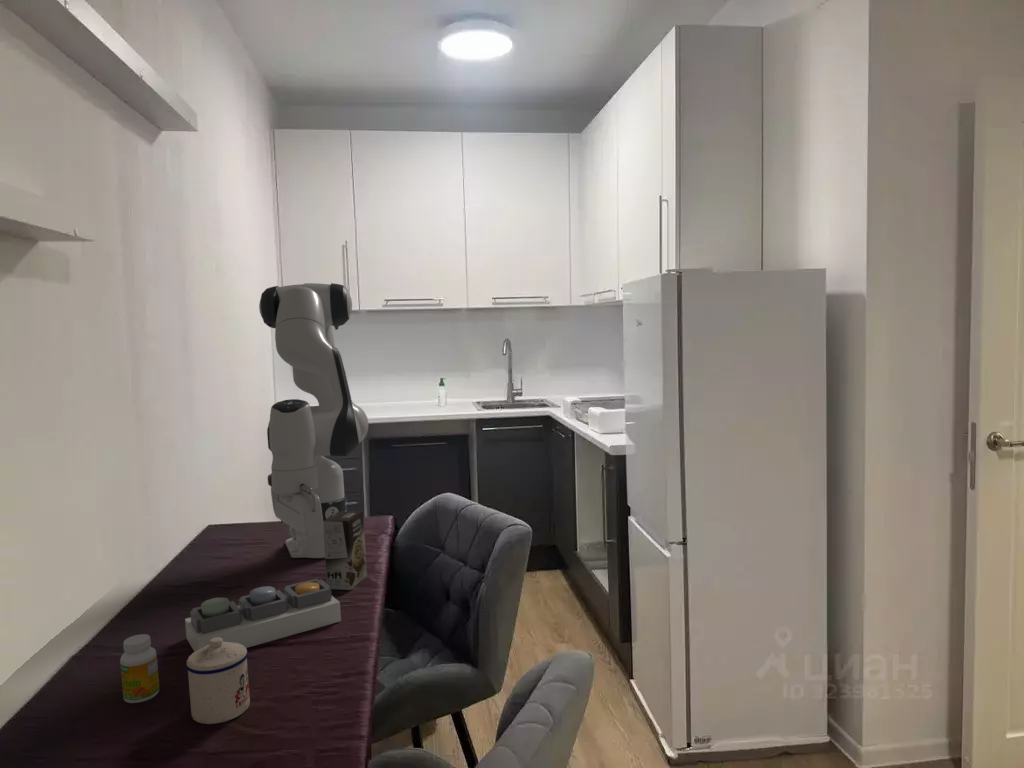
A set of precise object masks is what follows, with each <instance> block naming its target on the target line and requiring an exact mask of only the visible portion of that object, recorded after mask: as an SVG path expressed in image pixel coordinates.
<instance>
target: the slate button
mask: <svg viewBox="0 0 1024 768" xmlns="http://www.w3.org/2000/svg"><path fill="white" fill-rule="evenodd" d="M275 590H276V588H275V587H274V586H261V587H256V588H253V589H251V590H250V591H249V595H250V603H251V604H252V605H261V604H265V603H269V602H273V601H275V600H276V594H275Z"/></svg>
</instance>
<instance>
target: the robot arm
mask: <svg viewBox="0 0 1024 768" xmlns="http://www.w3.org/2000/svg"><path fill="white" fill-rule="evenodd" d="M258 309H259V313H260V316H261V318H262V320H263V321H262V322H263V323H264V324H265V325H266V326H267V327H269V328H271V329H275V331H274V333H275V334H274V336H275V337H274V338H275V339H274V340H275V342H274V343H275V348H276V351H277V354H278V355H279V357H280V359H282V360H283V361H284V362H285V363H286V364H287V365H289V366H291V367H292V377H293V379H292V380H293V382H294V384H295V386H296V387H297V388H298V389H300V390H301V391H302V392H305V393H307V394H309V395H312V396H313V397H314V398H315V399H316V400H317V402H318V405H310V403H309V402H308V401H306V400H302V399H299V398H296V399H293V398H292V399H284V400H280V401H277V402H275V403H274V404H273V405H272V406H271V407H270V415H269V421H268V423H267V425H268V427H267V430H266V433H267V446H268V447H267V448H268V450H269V451H270V452H271V455H272V463H271V465H270V466H271V468H270V469H271V473H269V474H268V475H267V485H268V486H269V487H270V493H271V494H270V495H271V501H272V502H271V503H272V509H273V512H274V515H275V518H277V519H278V520H280V521H282V522H283V523H285V524H286V525H288V526H289V528H288V535H289V537H290V538H287V539H285V546H286V547H287V548H286V549H287V550H288V553H289V555H290V557H291V558H293V559H299V558H300V559H302V558H307V559H308V558H309V559H325V545H324V526H323V521H324V520H326V519H327V518H329V517H331V516H332V515H334V514H336V513H337V512H339V511H348V510H347V509H348V500H347V496H346V495H345V484H344V481H345V480H344V471H343V469H342V467H341V465H340V464H338V463H337V462H336V461H334V460H332V459H329V458H327V457H329V456H330V457H349V455H351V454H352V453H353V452H354V451H355V450H357V448H358V447H359V446H360V443H361V442H362V441H363V440H364V439H365V437H366V436H367V435H368V431H369V420H368V416H367V414H366V412H365V411H364V410H363V409H362V407H360V406H358V405H357V404H356V403H354V402H353V400H352V397H351V391H350V387H349V382H348V377H347V373H346V369H345V367H344V362H343V358H342V355H341V352H340V351H339V349H338V348H337V347H336V346H335V339H334V333H333V327H334V329H335V331H337V330H339V327H341V326H343V325H345V324H346V323H347V322H348V321H349V320H350V316H351V315H352V314H351V313H352V310H353V301H352V297H351V295H350V293H349V292H348V288H347V287H346V286H345V285H343V284H339V283H333V282H332V283H330V284H328V283H318V282H316V283H313V282H311V283H310V282H308V283H307V282H306V283H301V284H300V283H299V284H291V285H290V284H289V285H283V286H280V285H275V286H271V287H268V288H266V289H265V290H264V291H263V292H262V293H261V295H260V300H259V305H258Z"/></svg>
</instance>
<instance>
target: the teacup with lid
mask: <svg viewBox="0 0 1024 768" xmlns="http://www.w3.org/2000/svg"><path fill="white" fill-rule="evenodd" d="M248 656H249V652H248V649H247V648H245V647H244V646H243V645H242V644H239V643H233V642H223V639H222V638H220V637H216V638H213V639H211V640H210V641H209V645H207V646H205V647H203V648H201V649H199V650H197V651H195V652H194V651H193V652H192V654H190V655H189V656H188V658H187V660H186V663H185V669H186V671H187V675H188V687H189V688H188V689H189V698H190V710H191V711H190V712H191V713H190V714H191V717H192V720H194V721H195V722H196V723H198V724H199V723H200V724H204V725H215V724H222V723H225V722H229V721H231V720H234V719H235V718H237V717H239V716H241V715H242V714H244V713H245V712H246V711H247V710H248V708H249V706H250V703H251V700H250V699H251V698H250V684H249V682H250V681H249V671H248V670H249V669H248Z"/></svg>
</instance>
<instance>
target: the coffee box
mask: <svg viewBox="0 0 1024 768" xmlns="http://www.w3.org/2000/svg"><path fill="white" fill-rule="evenodd" d="M323 526H324V545H325V558H324V559H325V579H326V583H327V584H328V585H329V586H331V590H341V591H342V590H343V591H352V590H354V588H356V587H357V586H358V585H359V584H360V583H362V581H363V580H365V579H366V578H367V577H368V573H367V572H368V571H367V570H368V569H367V554H366V553H367V552H366V540H365V539H366V537H365V522H364V511H363V510H346V511H339V512H337V513H336V514H334V515H332V516H331V517H329V518H327V519H326V520H324V521H323Z"/></svg>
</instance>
